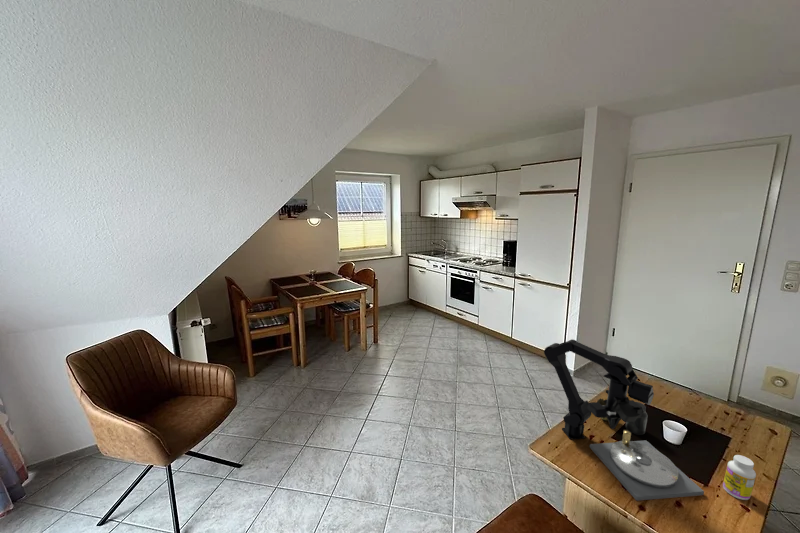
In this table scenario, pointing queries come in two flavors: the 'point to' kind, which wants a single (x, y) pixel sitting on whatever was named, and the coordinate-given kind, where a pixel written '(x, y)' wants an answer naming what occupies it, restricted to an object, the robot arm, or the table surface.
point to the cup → (602, 405)
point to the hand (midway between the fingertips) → (612, 428)
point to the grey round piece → (643, 463)
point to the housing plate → (641, 490)
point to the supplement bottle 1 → (638, 423)
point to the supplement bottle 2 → (739, 477)
